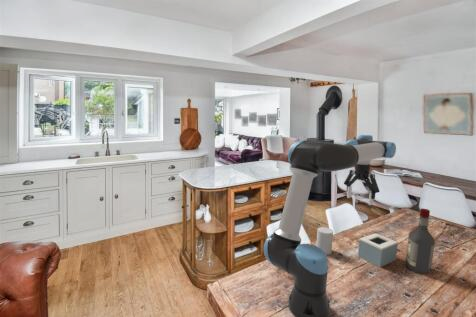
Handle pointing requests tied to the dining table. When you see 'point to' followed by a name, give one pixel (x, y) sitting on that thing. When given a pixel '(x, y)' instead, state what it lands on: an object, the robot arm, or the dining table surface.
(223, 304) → the dining table surface
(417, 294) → the dining table surface
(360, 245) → the open-top box
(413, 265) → the liquor
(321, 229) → the cup
